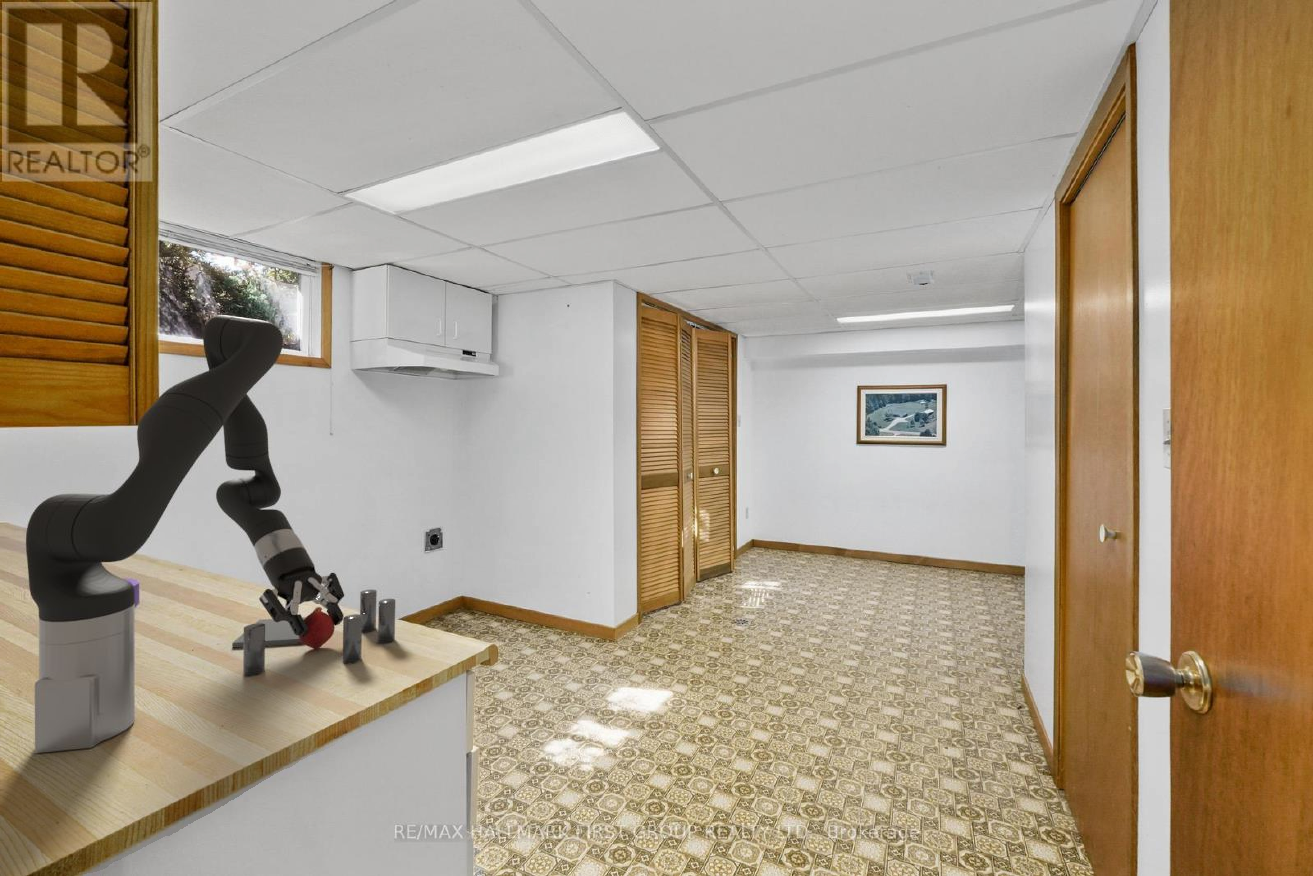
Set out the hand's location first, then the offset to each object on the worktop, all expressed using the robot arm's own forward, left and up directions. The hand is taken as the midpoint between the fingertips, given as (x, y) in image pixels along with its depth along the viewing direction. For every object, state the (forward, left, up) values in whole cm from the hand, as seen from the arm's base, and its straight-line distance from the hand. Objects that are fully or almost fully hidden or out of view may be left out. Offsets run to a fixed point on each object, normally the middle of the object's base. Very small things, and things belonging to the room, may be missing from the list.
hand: (322, 628), depth 104 cm
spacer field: (+1, -1, -4) cm, 5 cm away
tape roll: (+32, +52, -5) cm, 61 cm away
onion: (+1, +1, -5) cm, 5 cm away
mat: (+10, +10, -4) cm, 15 cm away
